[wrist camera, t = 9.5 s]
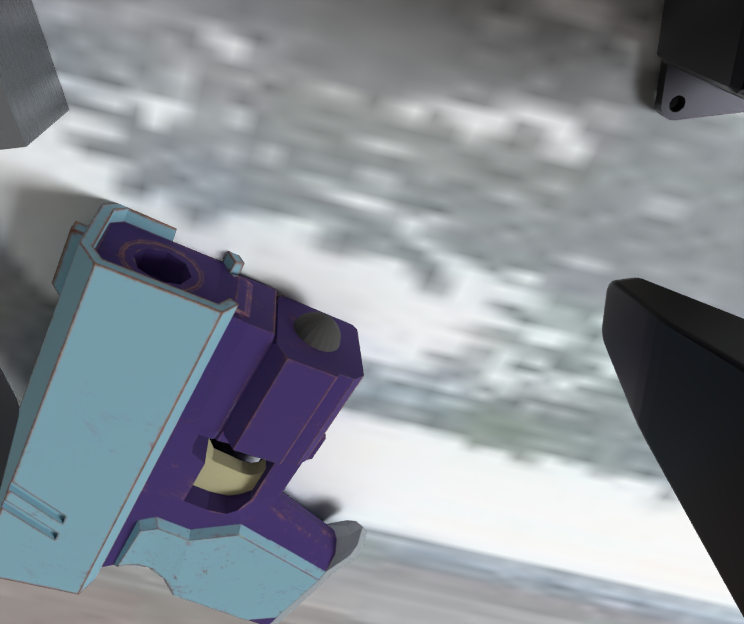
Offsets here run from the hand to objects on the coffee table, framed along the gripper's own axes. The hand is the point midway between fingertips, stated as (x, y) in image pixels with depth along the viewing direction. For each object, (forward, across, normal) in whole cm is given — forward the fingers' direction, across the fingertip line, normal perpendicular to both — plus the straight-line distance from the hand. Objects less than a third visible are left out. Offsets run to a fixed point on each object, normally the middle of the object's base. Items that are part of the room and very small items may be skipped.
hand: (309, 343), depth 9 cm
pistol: (+13, +5, +12) cm, 18 cm away
